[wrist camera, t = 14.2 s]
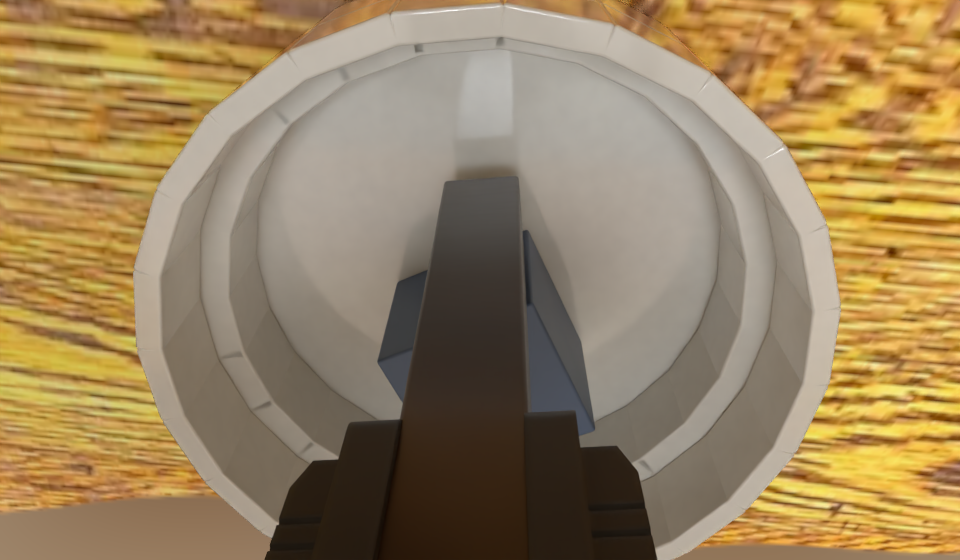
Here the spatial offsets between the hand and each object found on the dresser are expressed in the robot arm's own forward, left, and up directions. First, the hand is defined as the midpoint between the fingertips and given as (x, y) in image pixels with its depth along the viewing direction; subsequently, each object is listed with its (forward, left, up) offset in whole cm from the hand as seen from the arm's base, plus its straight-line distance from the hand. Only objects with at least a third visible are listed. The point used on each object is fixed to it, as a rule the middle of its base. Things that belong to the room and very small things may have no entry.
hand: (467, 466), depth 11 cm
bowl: (0, -2, -11) cm, 11 cm away
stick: (0, 0, -9) cm, 9 cm away
